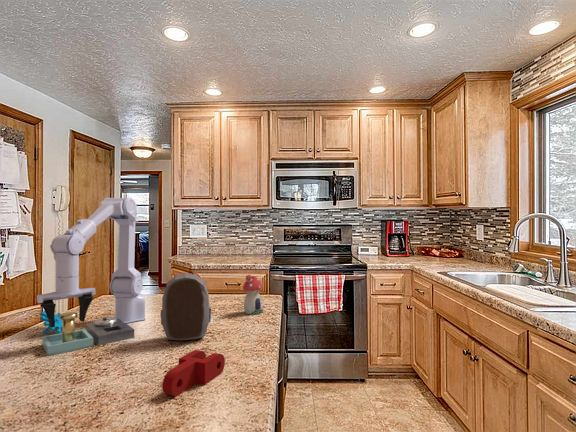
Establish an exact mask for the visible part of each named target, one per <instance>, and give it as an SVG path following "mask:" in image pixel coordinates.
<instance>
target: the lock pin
mask: <svg viewBox="0 0 576 432" xmlns="http://www.w3.org/2000/svg"><path fill="white" fill-rule="evenodd" d="M77 317H78V312H76V311H75V312H74V311H71V312H64V313H60V319H62V330H61V333H62V343H64V342H69V341H74V331H75V325H76V324H75V321H76V318H77Z"/></svg>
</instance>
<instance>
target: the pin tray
mask: <svg viewBox="0 0 576 432" xmlns="http://www.w3.org/2000/svg"><path fill="white" fill-rule="evenodd" d="M41 347H42V348H43V350H44V352H45V354H46V356H47V357H50V356H56V355H60V354H64V353H68V352H69V353H70V352H74V351H80V350H84V349H88V348H92V347H94V340H93V337H92V336H91V335H90V334H89V333H88V332H87V331H86V328H84V329H78V330H74V341H69V342H64V343H62V332H61V333H60V334H58V333H55V334H50V335H43V336H41Z"/></svg>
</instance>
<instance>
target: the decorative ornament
mask: <svg viewBox="0 0 576 432" xmlns="http://www.w3.org/2000/svg"><path fill="white" fill-rule="evenodd" d="M242 286H243V287H242V289H243V290H242V291H243V292H244V293H246V295H245V297H244V301H243V310H244V314H246V315H251V316H254V315H260V314H262V313H263V311H264V306H263V304H262V303H263V302H262V301H263V300H262V297H261V295H260V293H259V291H261V290H262V289H263V287H264V285H263V282H262V281H261V280H260V279H259V277H257V276H253V275H251V274H246V276H245V282H244V284H243V285H242Z"/></svg>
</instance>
